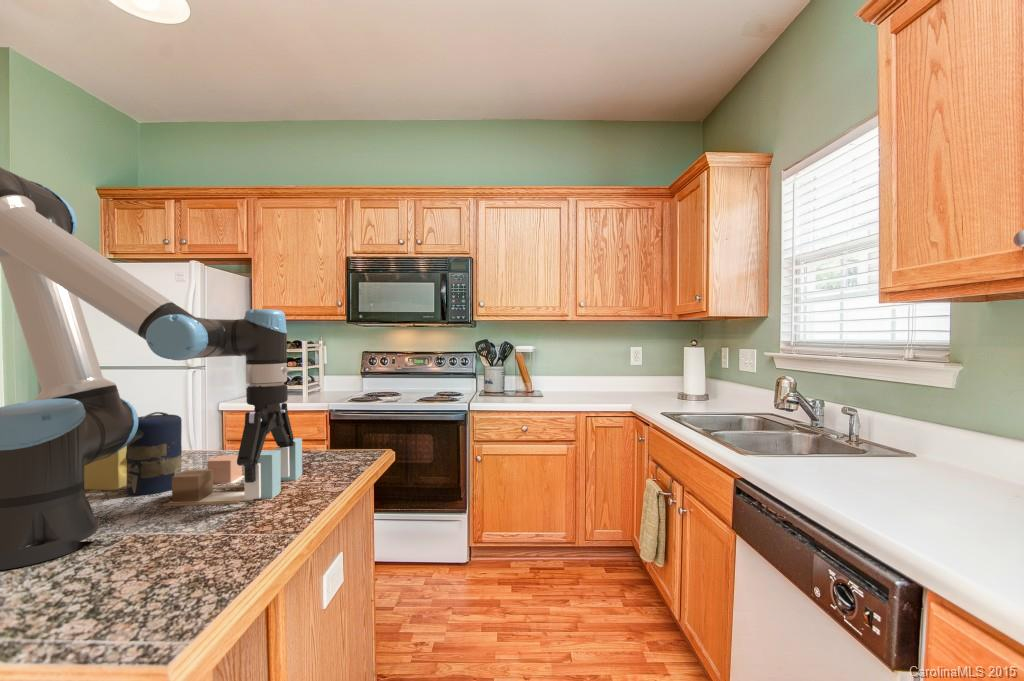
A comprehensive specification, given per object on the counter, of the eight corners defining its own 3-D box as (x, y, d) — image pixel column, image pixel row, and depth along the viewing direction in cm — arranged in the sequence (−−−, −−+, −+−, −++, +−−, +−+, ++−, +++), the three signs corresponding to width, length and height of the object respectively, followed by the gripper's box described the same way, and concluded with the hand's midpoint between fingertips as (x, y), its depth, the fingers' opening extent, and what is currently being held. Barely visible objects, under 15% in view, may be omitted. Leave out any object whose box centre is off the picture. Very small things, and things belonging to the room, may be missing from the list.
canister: (117, 497, 98) (117, 413, 98) (167, 485, 106) (167, 407, 106) (140, 505, 93) (139, 417, 93) (190, 491, 102) (190, 410, 102)
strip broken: (294, 486, 104) (294, 442, 104) (204, 489, 103) (204, 444, 103) (303, 479, 110) (303, 437, 110) (218, 481, 108) (218, 439, 108)
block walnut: (198, 501, 91) (198, 476, 91) (172, 502, 91) (171, 477, 91) (212, 492, 96) (212, 469, 96) (187, 493, 96) (187, 469, 96)
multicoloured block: (270, 505, 92) (270, 455, 92) (168, 508, 91) (168, 458, 91) (282, 496, 98) (281, 449, 98) (186, 499, 96) (185, 451, 96)
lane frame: (237, 510, 90) (237, 502, 90) (162, 513, 89) (162, 504, 89) (282, 478, 111) (282, 471, 111) (222, 480, 110) (222, 473, 110)
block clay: (230, 482, 103) (230, 460, 103) (207, 483, 103) (207, 461, 103) (241, 476, 108) (241, 454, 108) (219, 476, 108) (219, 455, 108)
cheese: (159, 477, 113) (158, 437, 113) (117, 492, 102) (116, 447, 102) (120, 476, 114) (120, 436, 114) (74, 490, 103) (74, 446, 103)
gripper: (257, 390, 83) (259, 507, 83) (308, 378, 108) (309, 468, 108) (213, 391, 82) (215, 509, 82) (274, 379, 107) (276, 470, 107)
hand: (268, 486), depth 95 cm, fingers open, 13 cm apart
